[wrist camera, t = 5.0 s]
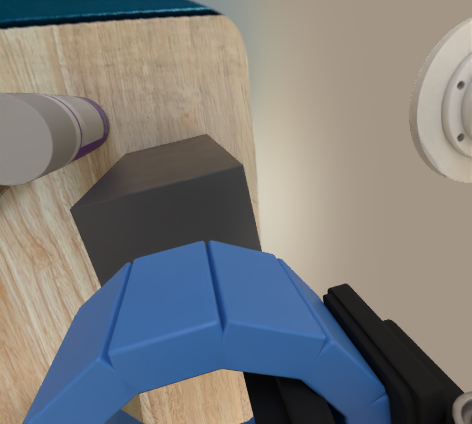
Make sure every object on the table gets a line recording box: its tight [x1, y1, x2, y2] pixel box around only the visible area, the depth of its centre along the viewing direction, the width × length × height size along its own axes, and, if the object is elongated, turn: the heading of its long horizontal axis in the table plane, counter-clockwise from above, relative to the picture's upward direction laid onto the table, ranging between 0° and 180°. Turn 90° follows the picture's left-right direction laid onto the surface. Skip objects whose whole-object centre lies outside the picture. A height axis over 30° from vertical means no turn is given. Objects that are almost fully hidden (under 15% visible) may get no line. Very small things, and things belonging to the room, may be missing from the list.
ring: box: [23, 240, 391, 424], centre depth 8 cm, size 8×8×4 cm
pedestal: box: [70, 134, 262, 287], centre depth 25 cm, size 8×8×18 cm
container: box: [0, 93, 110, 186], centre depth 23 cm, size 5×5×15 cm
